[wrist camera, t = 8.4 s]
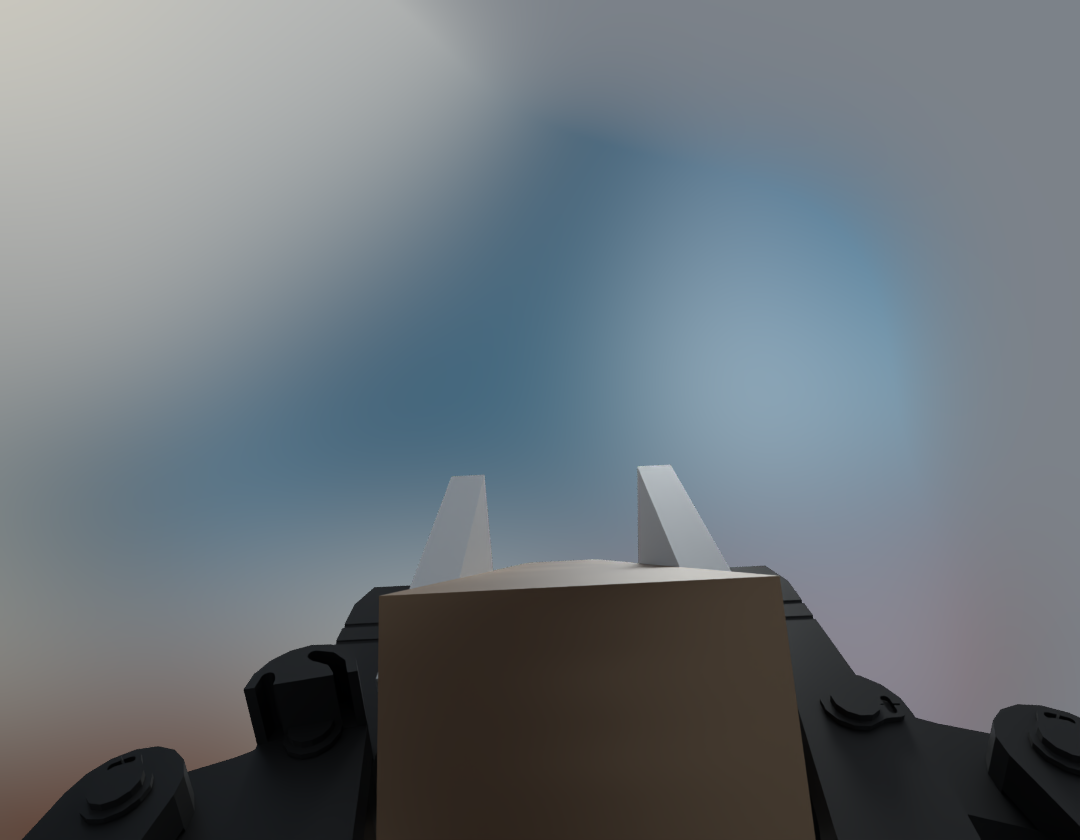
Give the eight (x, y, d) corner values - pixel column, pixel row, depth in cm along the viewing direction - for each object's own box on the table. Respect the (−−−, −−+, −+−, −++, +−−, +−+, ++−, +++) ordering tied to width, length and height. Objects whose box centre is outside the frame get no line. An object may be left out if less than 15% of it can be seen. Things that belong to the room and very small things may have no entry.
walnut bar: (373, 1083, 4) (379, 595, 5) (531, 634, 30) (527, 562, 31) (845, 1067, 4) (779, 575, 5) (600, 631, 30) (595, 559, 30)
